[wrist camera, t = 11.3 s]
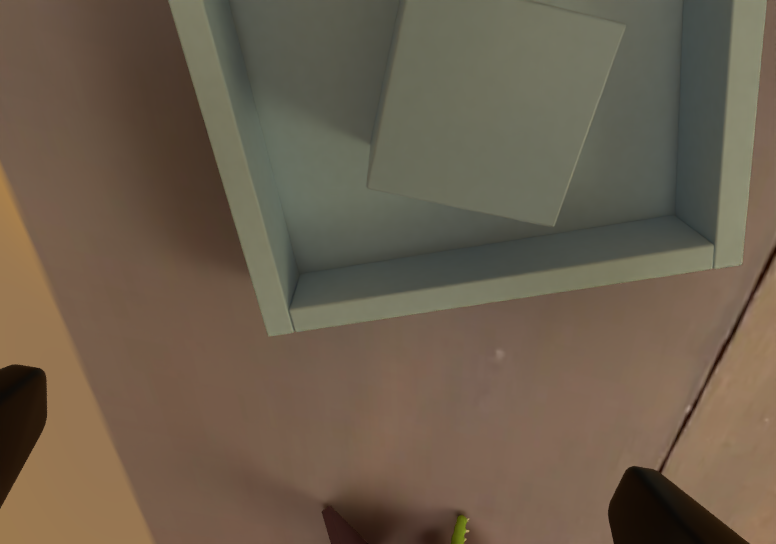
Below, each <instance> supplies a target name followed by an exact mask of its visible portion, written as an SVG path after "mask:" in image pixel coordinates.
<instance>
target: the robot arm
mask: <svg viewBox="0 0 776 544" xmlns="http://www.w3.org/2000/svg"><path fill="white" fill-rule="evenodd" d="M46 387H47V386H46V375H45V372H44V371H43V370H42V369H40V368H36V367H30V366H23V365H10V366H7V367H5V368H2V369H0V508H1V506H2V504H3V503H4V500H5V499H6V497H7V495H8V493H9V492H10V490H11V488H12V486H13V484H14V482H15V481H16V479H17V477H18V475H19V473H20V471H21V470H22V468H23V466H24V464H25V462H26V460H27V459H28V457H29V455H30V453H31V451H32V449H33V448H34V446H35V444H36V442H37V440H38V438H39V437H40V435H41V433H42V431H43V428H44V426H45V423H46V418H47V388H46ZM608 518H609V523H610V528H611V532H612V537H613V542H614V544H749V543H748V542H747V541H746V540H744V539H743V538H742V537H741V536H739V535H738V534H737V533H735V532H734V531H733V530H732V529H730V528H729V527H728V526H727V525H725V524H724V523H723V522H722V521H720V520H719V519H718V518H716V517H715V516H714V515H713V514H711V513H710V512H709V511H708V510H706V509H705V508H704V507H703V506H701V505H700V504H699V503H698V502H696V501H695V500H694V499H692V498H691V497H690V496H689V495H687V494H686V493H685V492H684V491H682V490H681V489H680V488H679V487H677V486H676V485H675V484H673V483H672V482H671V481H670V480H668V479H667V478H666V477H665V476H663V475H662V474H661V473H660V472H658V471H656V470H654V469H649V468H643V467H637V466H632V467H629V468H628V469H627V470H626V471H625V473H624V475H623V477H622V479H621V481H620V483H619V485H618V487H617V489H616V491H615V493H614V495H613V497H612V499H611V501H610V504H609V509H608Z"/></svg>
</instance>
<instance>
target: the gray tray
mask: <svg viewBox="0 0 776 544" xmlns="http://www.w3.org/2000/svg"><path fill="white" fill-rule="evenodd" d="M399 1H400V0H168V2H169V5H170V9H171V12H172V16H173V19H174V22H175V26H176V29H177V32H178V36H179V39H180V42H181V46H182V49H183V52H184V56H185V59H186V62H187V66H188V69H189V73H190V76H191V79H192V83H193V86H194V89H195V93H196V96H197V99H198V103H199V106H200V109H201V113H202V116H203V119H204V123H205V126H206V130H207V133H208V136H209V140H210V143H211V146H212V150H213V153H214V156H215V160H216V163H217V166H218V170H219V173H220V176H221V180H222V183H223V187H224V190H225V193H226V197H227V200H228V203H229V207H230V210H231V213H232V217H233V220H234V223H235V227H236V230H237V233H238V237H239V240H240V244H241V247H242V250H243V254H244V257H245V260H246V264H247V267H248V270H249V274H250V277H251V280H252V284H253V287H254V291H255V294H256V297H257V301H258V304H259V307H260V311H261V314H262V317H263V321H264V324H265V327H266V331H267V334H268V336H276V335H283V334H289V333H293V332H294V330H295V332H301V331H307V330H314V329H321V328H327V327H334V326H340V325H347V324H354V323H360V322H367V321H373V320H380V319H387V318H393V317H400V316H406V315H413V314H420V313H426V312H433V311H440V310H446V309H453V308H459V307H466V306H473V305H479V304H486V303H492V302H499V301H506V300H512V299H519V298H525V297H532V296H539V295H545V294H552V293H559V292H565V291H572V290H578V289H585V288H592V287H598V286H605V285H611V284H618V283H625V282H631V281H638V280H644V279H651V278H658V277H664V276H671V275H677V274H684V273H691V272H697V271H704V270H710V269H712V268H713V269H719V268H726V267H733V266H739V265H742V261H743V251H744V240H745V229H746V218H747V208H748V197H749V186H750V176H751V165H752V154H753V144H754V133H755V122H756V112H757V101H758V90H759V80H760V69H761V58H762V47H763V37H764V26H765V15H766V5H767V0H531V1H535V2H539V3H543V4H547V5H551V6H555V7H559V8H563V9H568V10H572V11H576V12H580V13H584V14H588V15H592V16H596V17H600V18H604V19H608V20H612V21H616V22H621V23H624V24H625V25H626V28H625V31H624V33H623V36H622V39H621V42H620V45H619V47H618V50H617V53H616V56H615V59H614V61H613V64H612V67H611V70H610V73H609V75H608V78H607V81H606V84H605V86H604V89H603V92H602V95H601V98H600V100H599V103H598V106H597V109H596V112H595V114H594V117H593V120H592V123H591V126H590V128H589V131H588V134H587V137H586V140H585V142H584V145H583V148H582V151H581V154H580V156H579V159H578V162H577V165H576V167H575V170H574V173H573V176H572V179H571V181H570V184H569V187H568V190H567V193H566V195H565V198H564V201H563V204H562V207H561V209H560V212H559V215H558V218H557V221H556V223H555V226H554V227H549V226H544V225H539V224H534V223H530V222H525V221H520V220H515V219H510V218H506V217H501V216H496V215H491V214H486V213H481V212H477V211H472V210H467V209H462V208H457V207H453V206H448V205H443V204H438V203H433V202H428V201H424V200H419V199H414V198H409V197H404V196H400V195H395V194H390V193H385V192H380V191H375V190H371V189H368V188H367V186H366V184H367V174H368V164H369V153H370V143H371V138H372V133H373V128H374V123H375V118H376V113H377V109H378V104H379V99H380V94H381V89H382V84H383V79H384V74H385V70H386V65H387V60H388V55H389V50H390V45H391V40H392V35H393V30H394V26H395V21H396V16H397V11H398V6H399Z"/></svg>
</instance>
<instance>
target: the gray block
mask: <svg viewBox="0 0 776 544" xmlns="http://www.w3.org/2000/svg"><path fill="white" fill-rule="evenodd" d="M625 28H626V25H625V24H624V23H621V22H616V21H612V20H608V19H604V18H600V17H596V16H592V15H588V14H584V13H580V12H576V11H572V10H568V9H563V8H559V7H555V6H551V5H547V4H543V3H539V2H535V1H531V0H400V1H399V6H398V11H397V16H396V21H395V26H394V30H393V35H392V40H391V45H390V50H389V55H388V60H387V65H386V70H385V74H384V79H383V84H382V89H381V94H380V99H379V104H378V109H377V113H376V118H375V123H374V128H373V133H372V138H371V143H370V153H369V164H368V174H367V184H366V186H367V188H368V189H371V190H375V191H380V192H385V193H390V194H395V195H400V196H404V197H409V198H414V199H419V200H424V201H428V202H433V203H438V204H443V205H448V206H453V207H457V208H462V209H467V210H472V211H477V212H481V213H486V214H491V215H496V216H501V217H506V218H510V219H515V220H520V221H525V222H530V223H534V224H539V225H544V226H549V227H554V226H555V223H556V221H557V218H558V215H559V212H560V209H561V207H562V204H563V201H564V198H565V195H566V193H567V190H568V187H569V184H570V181H571V179H572V176H573V173H574V170H575V167H576V165H577V162H578V159H579V156H580V154H581V151H582V148H583V145H584V142H585V140H586V137H587V134H588V131H589V128H590V126H591V123H592V120H593V117H594V114H595V112H596V109H597V106H598V103H599V100H600V98H601V95H602V92H603V89H604V86H605V84H606V81H607V78H608V75H609V73H610V70H611V67H612V64H613V61H614V59H615V56H616V53H617V50H618V47H619V45H620V42H621V39H622V36H623V33H624V31H625Z"/></svg>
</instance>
